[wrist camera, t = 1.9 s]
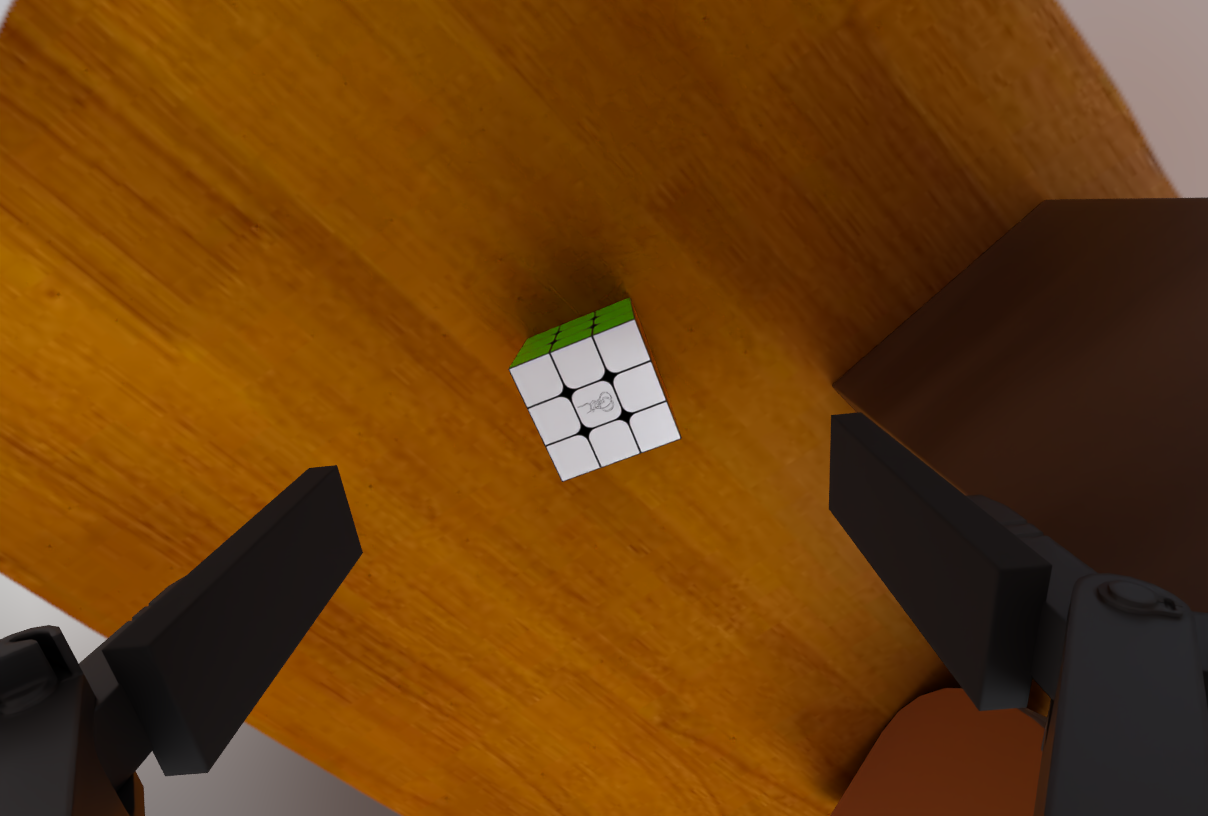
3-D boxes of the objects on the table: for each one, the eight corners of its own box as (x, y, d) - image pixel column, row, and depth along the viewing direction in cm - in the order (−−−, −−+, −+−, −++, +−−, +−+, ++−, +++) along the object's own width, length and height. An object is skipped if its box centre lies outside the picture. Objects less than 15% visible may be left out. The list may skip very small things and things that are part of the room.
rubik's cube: (526, 337, 25) (507, 367, 20) (631, 296, 24) (637, 317, 20) (568, 434, 27) (560, 483, 22) (669, 398, 26) (682, 440, 21)
